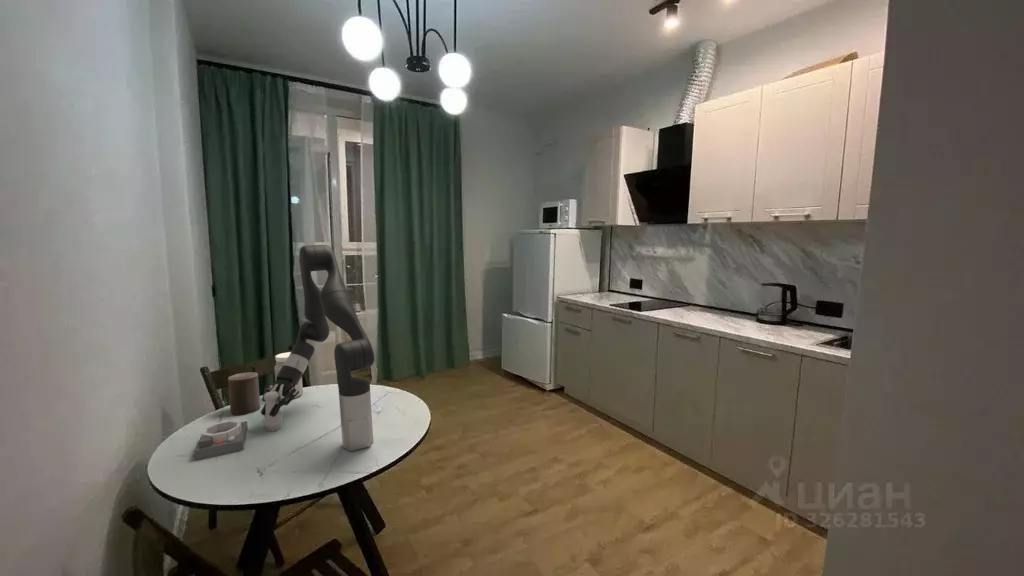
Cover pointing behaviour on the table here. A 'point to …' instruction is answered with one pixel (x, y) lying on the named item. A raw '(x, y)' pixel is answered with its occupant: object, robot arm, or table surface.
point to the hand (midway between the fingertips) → (267, 415)
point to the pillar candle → (244, 393)
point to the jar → (279, 363)
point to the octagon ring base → (221, 439)
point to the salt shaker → (269, 421)
